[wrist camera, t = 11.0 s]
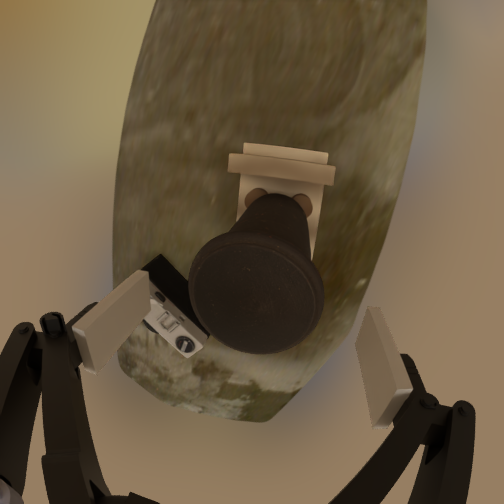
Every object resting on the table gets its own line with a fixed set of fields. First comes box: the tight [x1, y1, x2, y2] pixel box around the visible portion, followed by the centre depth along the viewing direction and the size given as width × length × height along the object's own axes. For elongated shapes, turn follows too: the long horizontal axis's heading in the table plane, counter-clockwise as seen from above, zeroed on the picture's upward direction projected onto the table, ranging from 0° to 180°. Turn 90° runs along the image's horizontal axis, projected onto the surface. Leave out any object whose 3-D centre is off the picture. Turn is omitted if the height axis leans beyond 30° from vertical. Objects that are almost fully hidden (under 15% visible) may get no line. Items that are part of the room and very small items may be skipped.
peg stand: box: [228, 143, 336, 260], centre depth 35 cm, size 20×11×9 cm, turn 173°
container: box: [188, 193, 324, 354], centre depth 26 cm, size 9×9×20 cm
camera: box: [141, 254, 210, 358], centre depth 41 cm, size 14×9×10 cm, turn 36°
